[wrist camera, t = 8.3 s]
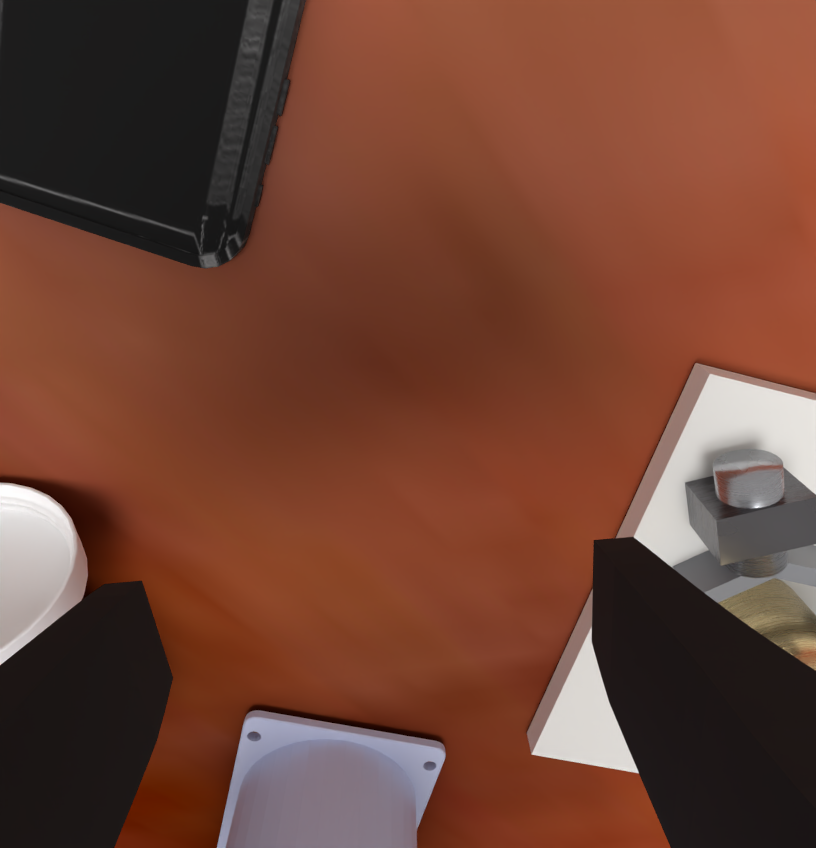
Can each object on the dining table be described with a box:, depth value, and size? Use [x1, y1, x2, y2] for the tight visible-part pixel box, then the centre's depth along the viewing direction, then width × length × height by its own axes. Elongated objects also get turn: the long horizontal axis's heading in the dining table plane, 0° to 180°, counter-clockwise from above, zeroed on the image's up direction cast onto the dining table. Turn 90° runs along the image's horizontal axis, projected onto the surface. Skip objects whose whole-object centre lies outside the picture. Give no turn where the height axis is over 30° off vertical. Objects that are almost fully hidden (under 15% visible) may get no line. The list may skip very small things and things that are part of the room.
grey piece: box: [685, 449, 816, 578], centre depth 20 cm, size 3×3×2 cm
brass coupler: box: [718, 578, 816, 670], centre depth 20 cm, size 4×4×7 cm
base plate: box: [527, 363, 816, 773], centre depth 22 cm, size 16×10×3 cm, turn 166°
